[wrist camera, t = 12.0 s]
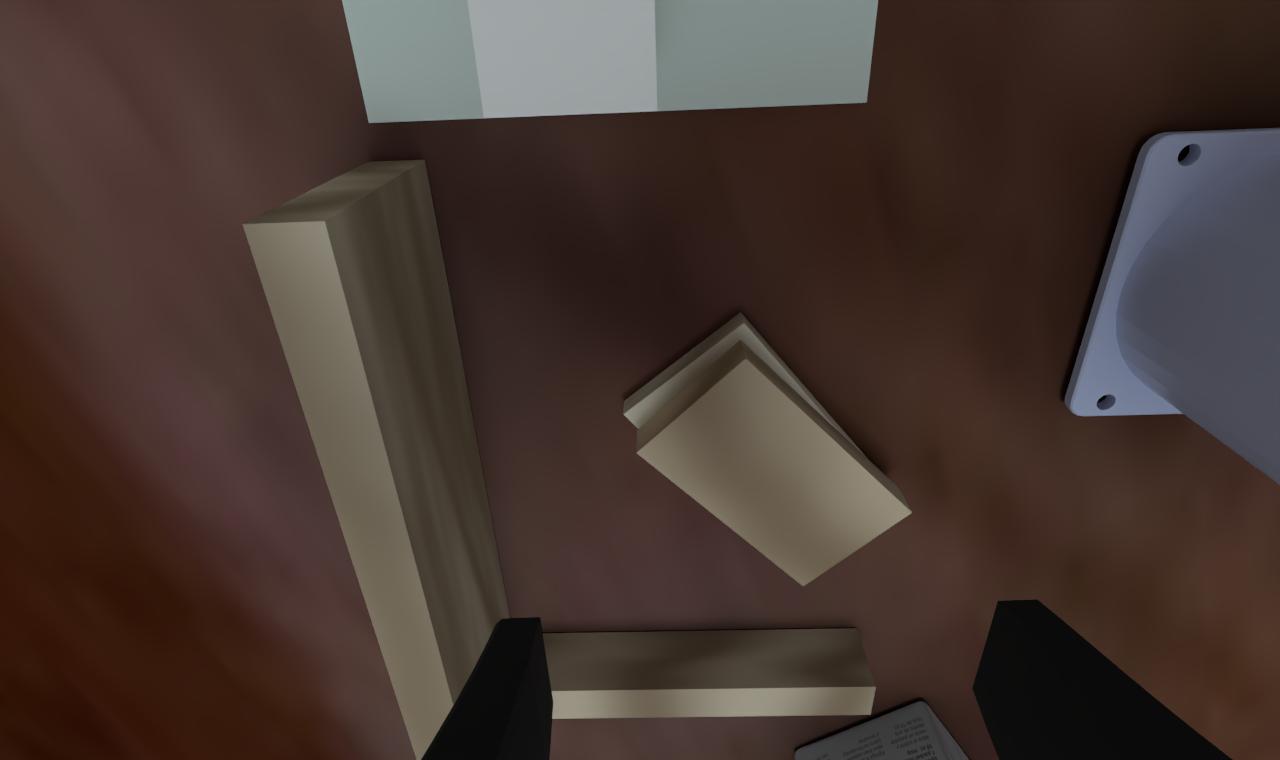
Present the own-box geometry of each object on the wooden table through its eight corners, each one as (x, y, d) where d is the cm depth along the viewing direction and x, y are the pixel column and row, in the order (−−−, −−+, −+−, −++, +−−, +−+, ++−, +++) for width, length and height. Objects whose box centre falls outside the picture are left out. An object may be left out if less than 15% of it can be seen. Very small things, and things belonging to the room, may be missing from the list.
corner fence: (934, 139, 17) (1065, 194, 12) (852, 655, 26) (903, 819, 21) (367, 161, 17) (242, 224, 12) (479, 661, 26) (437, 822, 21)
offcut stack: (746, 301, 19) (757, 334, 17) (892, 472, 22) (918, 519, 20) (623, 395, 21) (620, 437, 19) (774, 545, 24) (786, 595, 22)
